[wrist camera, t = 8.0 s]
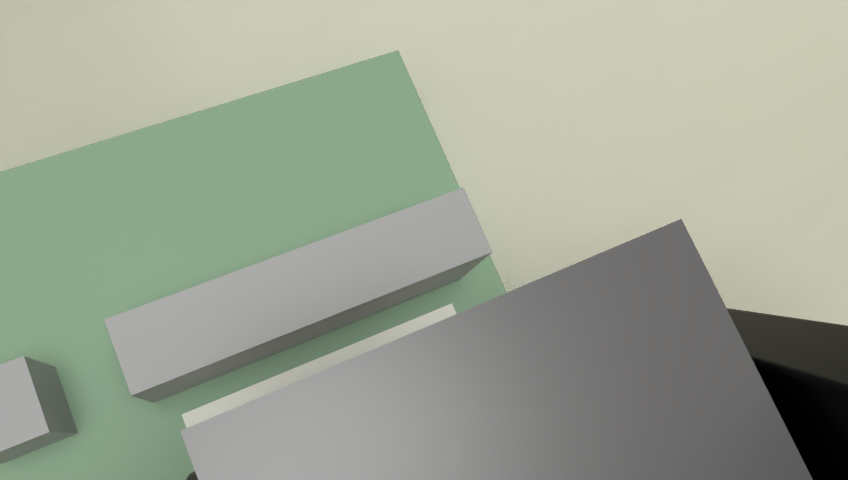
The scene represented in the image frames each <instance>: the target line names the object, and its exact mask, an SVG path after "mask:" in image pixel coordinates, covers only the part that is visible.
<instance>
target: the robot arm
mask: <svg viewBox="0 0 848 480" xmlns="http://www.w3.org/2000/svg"><path fill="white" fill-rule="evenodd" d="M726 309H727V311H728V313H729V315H730V316H731V318H732V320H733V322H734V324H735V326H736V328H737V330H738V332H739V334H740V336H741V338H742V340H743V342H744V344H745V346H746V348H747V350H748V352H749V354H750V356H751V358H752V360H753V362H754V364H755V366H756V368H757V370H758V372H759V374H760V376H761V378H762V380H763V382H764V384H765V386H766V388H767V390H768V392H769V394H770V396H771V398H772V400H773V402H774V404H775V406H776V408H777V410H778V412H779V414H780V416H781V418H782V420H783V422H784V424H785V426H786V428H787V430H788V432H789V434H790V435H791V437H792V439H793V441H794V443H795V445H796V447H797V449H798V451H799V453H800V455H801V457H802V459H803V461H804V463H805V465H806V467H807V469H808V471H809V473H810V475H811V477H812V479H813V480H848V326H846V325H839V324H833V323H826V322H819V321H812V320H805V319H798V318H791V317H784V316H777V315H770V314H763V313H756V312H749V311H742V310H735V309H728V308H726ZM186 480H198V478H197V475H196V473H195V471H194V472H192V473H190V474H189V475H188V477H187V478H186Z"/></svg>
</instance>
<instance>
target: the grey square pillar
mask: <svg viewBox="0 0 848 480" xmlns="http://www.w3.org/2000/svg"><path fill="white" fill-rule="evenodd" d="M180 432H181V435H182V438H183V440H184V443H185V446H186V448H187V451H188V454H189V457H190V459H191V462H192V465H193V467H194V470H195V473H196V475H197V478H198V480H813V479H812V477H811V475H810V473H809V471H808V469H807V467H806V465H805V463H804V461H803V459H802V457H801V455H800V453H799V451H798V449H797V447H796V445H795V443H794V441H793V439H792V437H791V435H790V434H789V432H788V430H787V428H786V426H785V424H784V422H783V420H782V418H781V416H780V414H779V412H778V410H777V408H776V406H775V404H774V402H773V400H772V398H771V396H770V394H769V392H768V390H767V388H766V386H765V384H764V382H763V380H762V378H761V376H760V374H759V372H758V370H757V368H756V366H755V364H754V362H753V360H752V358H751V356H750V354H749V352H748V350H747V348H746V346H745V344H744V342H743V340H742V338H741V336H740V334H739V332H738V330H737V328H736V326H735V324H734V322H733V320H732V318H731V316H730V315H729V313H728V311H727V309H726V307H725V305H724V303H723V301H722V299H721V297H720V295H719V293H718V291H717V289H716V287H715V285H714V283H713V281H712V279H711V277H710V275H709V273H708V271H707V269H706V267H705V265H704V263H703V261H702V259H701V257H700V255H699V253H698V251H697V249H696V247H695V245H694V243H693V241H692V239H691V237H690V235H689V233H688V231H687V229H686V227H685V225H684V223H683V221H682V219H680V220H678V221H676V222H673V223H671V224H668V225H666V226H664V227H661V228H659V229H657V230H654V231H652V232H650V233H647V234H645V235H642V236H640V237H638V238H635V239H633V240H631V241H628V242H626V243H624V244H621V245H619V246H616V247H614V248H612V249H609V250H607V251H605V252H602V253H600V254H598V255H595V256H593V257H590V258H588V259H586V260H583V261H581V262H579V263H576V264H574V265H572V266H569V267H567V268H564V269H562V270H560V271H557V272H555V273H553V274H550V275H548V276H546V277H543V278H541V279H538V280H536V281H534V282H531V283H529V284H527V285H524V286H522V287H520V288H517V289H515V290H512V291H510V292H508V293H505V294H503V295H501V296H498V297H496V298H494V299H491V300H489V301H486V302H484V303H482V304H479V305H477V306H475V307H472V308H470V309H467V310H465V311H463V312H460V313H458V314H456V315H453V316H451V317H449V318H446V319H444V320H441V321H439V322H437V323H434V324H432V325H430V326H427V327H425V328H423V329H420V330H418V331H415V332H413V333H411V334H408V335H406V336H404V337H401V338H399V339H397V340H394V341H392V342H389V343H387V344H385V345H382V346H380V347H378V348H375V349H373V350H371V351H368V352H366V353H363V354H361V355H359V356H356V357H354V358H352V359H349V360H347V361H345V362H342V363H340V364H337V365H335V366H333V367H330V368H328V369H326V370H323V371H321V372H319V373H316V374H314V375H311V376H309V377H307V378H304V379H302V380H300V381H297V382H295V383H293V384H290V385H288V386H285V387H283V388H281V389H278V390H276V391H274V392H271V393H269V394H267V395H264V396H262V397H259V398H257V399H255V400H252V401H250V402H248V403H245V404H243V405H240V406H238V407H236V408H233V409H231V410H229V411H226V412H224V413H222V414H219V415H217V416H214V417H212V418H210V419H207V420H205V421H203V422H200V423H198V424H196V425H193V426H191V427H188V428H186V429H184V430H181V431H180Z"/></svg>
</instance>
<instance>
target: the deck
mask: <svg viewBox="0 0 848 480" xmlns="http://www.w3.org/2000/svg"><path fill="white" fill-rule="evenodd" d="M491 253H492V250H491V248H490V246H489V244H488V241H487V239H486V237H485V235H484V233H483V230H482V228H481V226H480V224H479V221H478V219H477V217H476V215H475V212H474V210H473V208H472V206H471V204H470V201H469V199H468V197H467V195H466V192H465V190H464V188H461V189H460V187H459V185H458V183H457V181H456V179H455V176H454V174H453V172H452V170H451V167H450V165H449V163H448V161H447V158H446V156H445V154H444V152H443V149H442V147H441V145H440V143H439V141H438V138H437V136H436V134H435V132H434V129H433V127H432V125H431V123H430V120H429V118H428V116H427V114H426V112H425V109H424V107H423V105H422V103H421V100H420V98H419V96H418V94H417V91H416V89H415V87H414V85H413V82H412V80H411V78H410V76H409V74H408V71H407V69H406V67H405V65H404V62H403V60H402V58H401V56H400V53H399V51H394V52H391V53H388V54H385V55H381V56H378V57H375V58H372V59H368V60H365V61H362V62H359V63H355V64H352V65H349V66H345V67H342V68H339V69H336V70H332V71H329V72H326V73H323V74H319V75H316V76H313V77H310V78H306V79H303V80H300V81H296V82H293V83H290V84H287V85H283V86H280V87H277V88H274V89H270V90H267V91H264V92H261V93H257V94H254V95H251V96H247V97H244V98H241V99H238V100H234V101H231V102H228V103H225V104H221V105H218V106H215V107H211V108H208V109H205V110H202V111H198V112H195V113H192V114H189V115H185V116H182V117H179V118H176V119H172V120H169V121H166V122H162V123H159V124H156V125H153V126H149V127H146V128H143V129H140V130H136V131H133V132H130V133H127V134H123V135H120V136H117V137H113V138H110V139H107V140H104V141H100V142H97V143H94V144H91V145H87V146H84V147H81V148H78V149H74V150H71V151H68V152H64V153H61V154H58V155H55V156H51V157H48V158H45V159H42V160H38V161H35V162H32V163H29V164H25V165H22V166H19V167H15V168H12V169H9V170H6V171H2V172H0V480H186V478H187V477H188V475H189V474H190V473H192V472H194V471H195V470H194V467H193V465H192V462H191V459H190V457H189V454H188V451H187V448H186V446H185V443H184V440H183V438H182V435H181V432H180V431H181V430H184V429H186V428H188V427H191V426H193V425H196V424H198V423H200V422H203V421H205V420H207V419H210V418H212V417H214V416H217V415H219V414H222V413H224V412H226V411H229V410H231V409H233V408H236V407H238V406H240V405H243V404H245V403H248V402H250V401H252V400H255V399H257V398H259V397H262V396H264V395H267V394H269V393H271V392H274V391H276V390H278V389H281V388H283V387H285V386H288V385H290V384H293V383H295V382H297V381H300V380H302V379H304V378H307V377H309V376H311V375H314V374H316V373H319V372H321V371H323V370H326V369H328V368H330V367H333V366H335V365H337V364H340V363H342V362H345V361H347V360H349V359H352V358H354V357H356V356H359V355H361V354H363V353H366V352H368V351H371V350H373V349H375V348H378V347H380V346H382V345H385V344H387V343H389V342H392V341H394V340H397V339H399V338H401V337H404V336H406V335H408V334H411V333H413V332H415V331H418V330H420V329H423V328H425V327H427V326H430V325H432V324H434V323H437V322H439V321H441V320H444V319H446V318H449V317H451V316H453V315H456V314H458V313H460V312H463V311H465V310H467V309H470V308H472V307H475V306H477V305H479V304H482V303H484V302H486V301H489V300H491V299H494V298H496V297H498V296H501V295H503V294H505V293H507V292H506V290H505V288H504V286H503V284H502V281H501V279H500V277H499V275H498V272H497V270H496V268H495V266H494V263H493V261H492V259H491V257H490V255H489V254H491Z"/></svg>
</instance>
